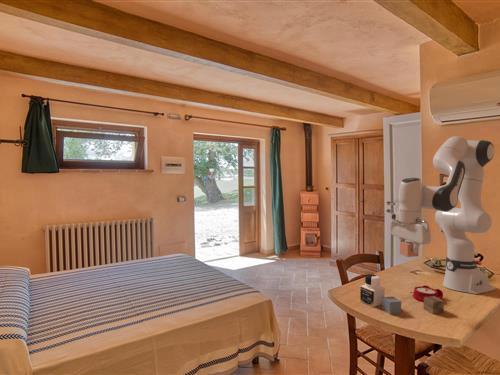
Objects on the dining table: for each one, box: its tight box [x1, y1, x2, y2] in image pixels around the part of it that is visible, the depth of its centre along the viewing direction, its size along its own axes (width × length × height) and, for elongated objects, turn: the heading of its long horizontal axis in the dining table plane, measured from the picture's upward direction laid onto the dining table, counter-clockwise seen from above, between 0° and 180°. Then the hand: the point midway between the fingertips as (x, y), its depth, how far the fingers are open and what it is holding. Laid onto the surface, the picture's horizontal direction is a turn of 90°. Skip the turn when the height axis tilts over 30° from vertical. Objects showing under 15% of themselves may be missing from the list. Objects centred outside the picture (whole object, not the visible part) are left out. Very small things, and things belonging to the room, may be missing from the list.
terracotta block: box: [399, 241, 420, 258], centre depth 132 cm, size 5×5×5 cm
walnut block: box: [423, 296, 445, 315], centre depth 129 cm, size 5×5×5 cm
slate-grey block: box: [381, 296, 402, 315], centre depth 129 cm, size 5×5×5 cm
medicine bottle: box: [359, 273, 386, 308], centre depth 137 cm, size 7×7×12 cm
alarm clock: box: [410, 285, 444, 303], centre depth 143 cm, size 10×6×15 cm
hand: (409, 250), depth 132 cm, fingers closed on terracotta block, 5 cm apart
